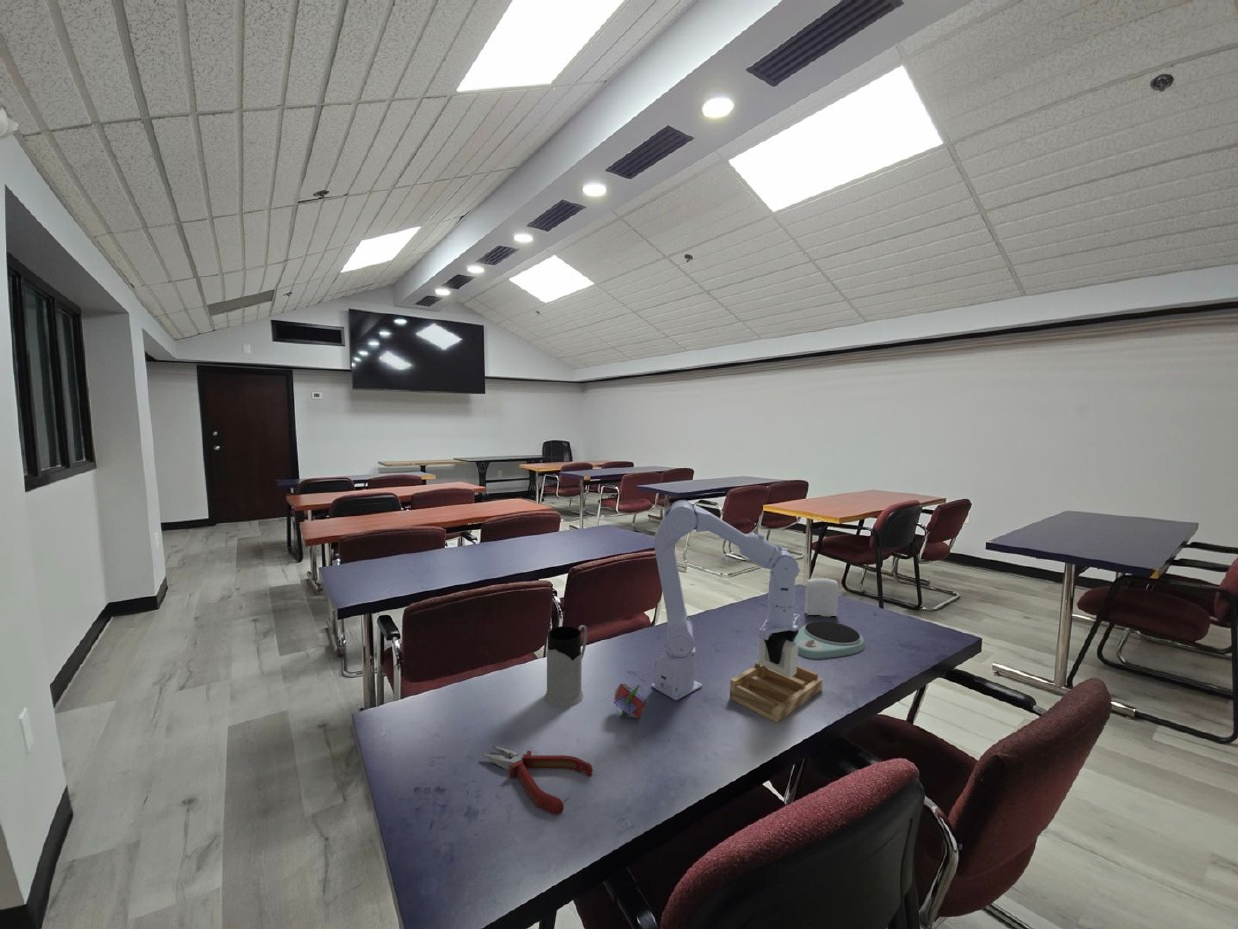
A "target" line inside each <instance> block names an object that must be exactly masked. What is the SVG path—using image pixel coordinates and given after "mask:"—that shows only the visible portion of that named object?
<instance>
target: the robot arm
mask: <svg viewBox="0 0 1238 929" xmlns="http://www.w3.org/2000/svg"><path fill="white" fill-rule="evenodd" d="M661 519H662V520H661V521H660V524H659V526H658V527H657V530H656V532H655V534H654V537H653V546H654V547H653V548H654V554H655V559H656V564H657V568H658V575H659V579H660V585H661V586H660V587H661V591H662V595H663V601H664V608H665V612H666V621H667V622H666V623H667V624H666V625H667V638H666V643H665V645H664V650H663V652H662V654H660V656H658V657H657V658H656V659H655V661H654V680H653V683H652V684H651V687H652V688H654V689H655V690H657V691H659V692H660V693H662V694H664V695H666V696H668V697H669V698H671V699H672V700H674V701H678V700H680V699H681V698H684V697H685V696H688V695H689V694H690V693H693V692H694V691H696V690H698V689H700V688H702V687H703V684H702V683H700V682H699V681H696V680H695V674H696V673H695V671H696V670H695V669H696V668H695V667H696V647H695V639H694V624H693V622H692V621H691V619H690V618H689V615H688V612H687V609H686V608H687V607H686V603H685V598H684V593H683V587H682V582H681V577H680V576H681V575H680V571H679V565H678V560H677V554H676V550H675V546H676V544H678V542H679V541H680V539H681V538H683V537H685V536H687V535H688V534H690V533H691V532H692V531H694V529H695V531H696V533H701V532H711V533H712V534H714V535H716V536H718V537H720V538H722V539H723V540H725V541H727V542H729V543H731V544H733V545H735V546H736V547H738V549H739V553H740V555H741V556H742V557H744V558H747V559H748V560H749V561H752V562H753V563H755V564H756V565H758V566H759V567H762V568H763V569H766V570H767V569H768V570H770V572H769V582H768V599H767V618H766V620H765V621H764V623H763V625H762V626H761V627H760V628H759V629H758V638H759V639H760V638H762V639H764V641H765V644H766V647H767V650H768V655H769V659H770V662H773V663H775V664H779V663H780V660H781V653H782V648H783V645H784V643H785V641H786V640H788V641H791V642H793V643H794V642H795V639H796V636H797V634H798V632H799V626H798V624H800V623H801V622H800V621H801V615H800V614H798V613H795V602H796V601H795V600H796V578H797V577H798V576H799V573H800V570H801V569H800V568H799V563H798V561H797V560H796V559H795V557H794V556H793V555H792V554H791V553H790V552H789V551H788V550H787V549H786V548H783V546H781V545H780V544H778V545H776V544H773V543H772V542H770V541H768V540H767V539H765V535H763V534H762V533H760V532H758V533H757V534H756V533H754V532H750V533H744V532H741V530H738V529H737V528H735V526H733V525H731V524H730V523H727V522H726V521H724V520H722V519H721V518H720V517H718V516H716V515H715V514H713V513H712V512H709V511H708V510H706V509H704V508H703V507H701V506H698V505H696V504H695V505H693V504H692V503H691V502H690V501H687V500H685V499H682V500H681V499H680V500H677V501H674V503H672V504H671V506H669V507H668V508H667V509H666V510H665V511H664V514H663V516H662V518H661Z"/></svg>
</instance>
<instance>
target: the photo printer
mask: <svg viewBox="0 0 1238 929" xmlns="http://www.w3.org/2000/svg"><path fill="white" fill-rule="evenodd" d="M804 599H805V600H804V601H805V602H804V614H805V613H807V614H809V615H821V616H820V617H831V616H836V617H838V607H839V606H838V604H839V584H838V581H837V580H836V579H831V578H827V577H814V578H810V579H807V580H806V583H805V597H804Z"/></svg>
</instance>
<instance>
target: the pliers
mask: <svg viewBox="0 0 1238 929" xmlns="http://www.w3.org/2000/svg"><path fill="white" fill-rule="evenodd" d="M492 749H494V750H495V751H496V752H497V753H498V754H490V753H482V757H484V758H485V759H487V760H489V761H490V762H492V763H493V764H496V765H497V766H499V767H501V768H503V769H504V770H508V777H509V779H511V780H513V779H515V778H518V780H519V781H520V783H521V785H522V787H523V789H524V790H525V791H526V792H525V793H526V794H527V795H528V797H529V799H530V800H531V801H532V802H533V804H535V806H536V807H538V808H539V809H542V810H544V811H547V812H549V813H551V814H553V815H560V814H562V813H563V811H564V803H563V801H562V800H561V799H560V798H559V797H557V796H554V795H552V794H550V793H547V792H545V791H544V790H542V789H541V788H540V787H539V786H538V785H537V783H536V781H535V780H534V778H533V776H532V775H531V774H530V772H529V770H528V769H530V770H531V769H532V770H533V769H535V770H536V769H537V770H538V769H539V770H540V769H548V770H549V769H553V770H554V769H563V770H564V769H565V770H571V771H575V772H578V773H580V774H582V775H584V776H586V777H587V778H591V777H592V775H593V766H592V764H590V763H589V762H587V761H584V760H582V759H581V758H578V757H576V756H574V755H573V756H571V755H557V754H554V755H549V754H547V755H546V754H545V755H539V754H538V755H532V750H527V751H526V754H525V753H524V754H523V755H519V753H517V752H515V751H514V750H511V749H505V748H502V747H498V746H496V745H495V746H494V745H493V746H492Z"/></svg>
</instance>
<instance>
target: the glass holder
mask: <svg viewBox="0 0 1238 929" xmlns="http://www.w3.org/2000/svg"><path fill="white" fill-rule="evenodd" d="M582 629H583V631H584V636H583V644H582V631H581V630H582ZM587 641H588V628H587V626H586V625H583V624H581V625H579V626H578V628H577V627H575V626H569V625H563V626H556V627H553V628H552V629H550V630H548V632H547V651H546V692H545V694H544V701H545V702H546V703H547V704H548V705H550V706H552V707H556V708H563V709H564V708H570V707H574V706H576V705H578V704H580V703H581V702H582V700H583V698H584V693H583V691H582V690H583V689H582V671H583V670H582V664H583V662H582V661H583V658H584V655H585V651H586V648H587V646H586V645H587Z"/></svg>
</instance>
